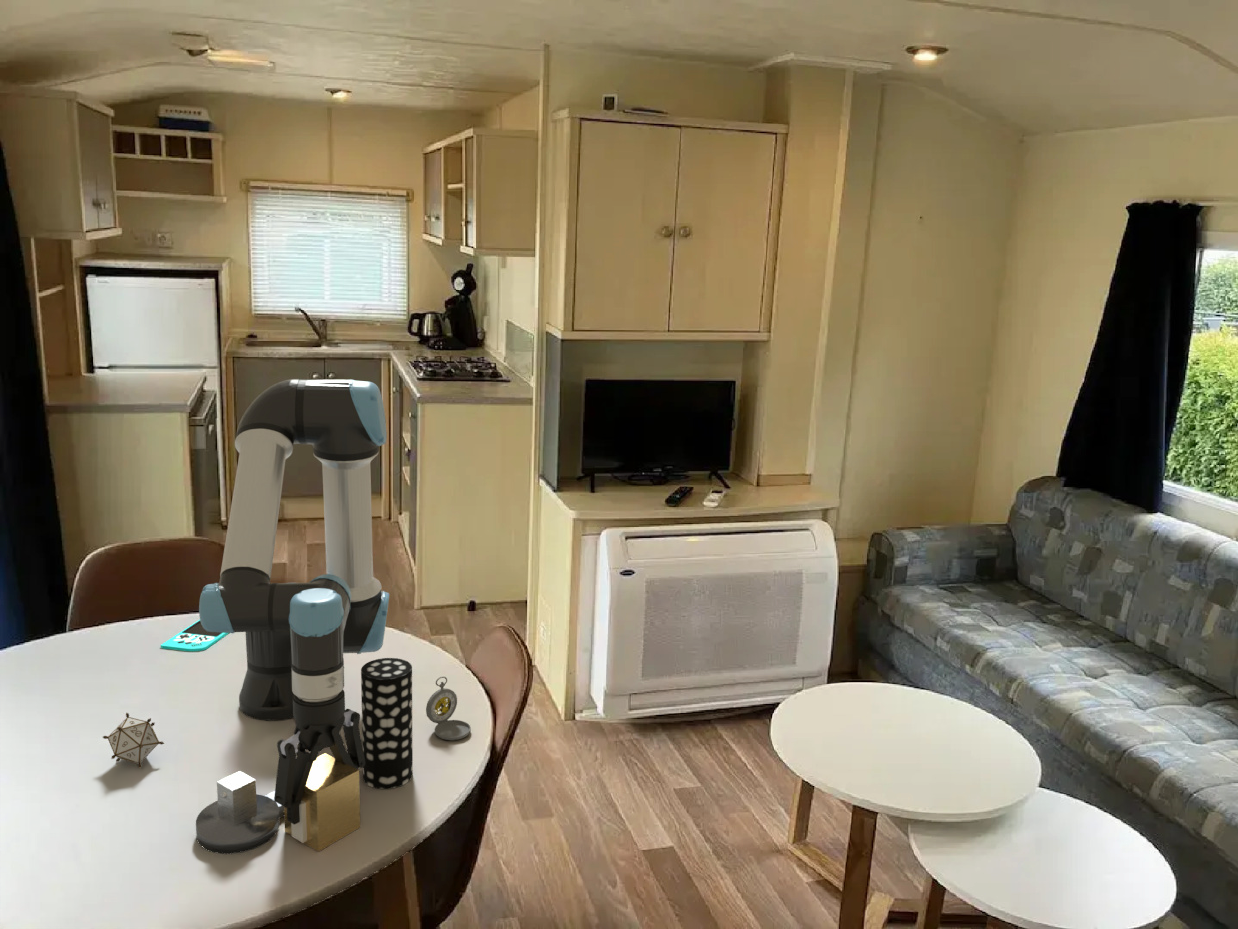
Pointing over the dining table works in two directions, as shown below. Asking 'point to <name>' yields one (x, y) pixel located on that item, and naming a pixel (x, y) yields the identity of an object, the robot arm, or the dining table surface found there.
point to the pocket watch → (446, 714)
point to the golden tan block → (330, 802)
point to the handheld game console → (193, 639)
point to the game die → (133, 740)
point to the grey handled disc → (238, 817)
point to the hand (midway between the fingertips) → (322, 825)
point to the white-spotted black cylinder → (387, 722)
